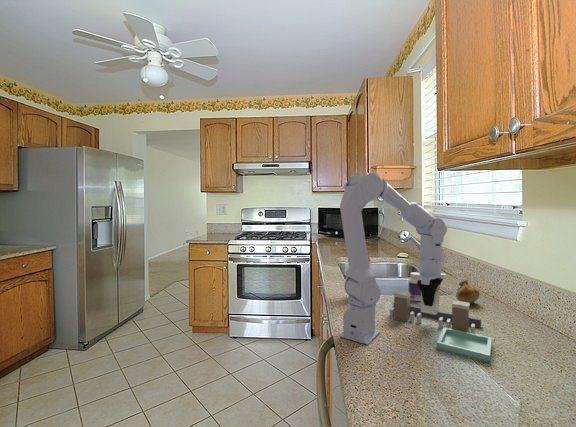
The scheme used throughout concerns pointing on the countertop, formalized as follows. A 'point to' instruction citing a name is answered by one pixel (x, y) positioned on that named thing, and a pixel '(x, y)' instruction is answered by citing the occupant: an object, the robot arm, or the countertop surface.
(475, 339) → the tray
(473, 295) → the onion
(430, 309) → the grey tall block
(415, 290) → the pill bottle
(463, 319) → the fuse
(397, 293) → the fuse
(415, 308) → the clip block
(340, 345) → the countertop surface
